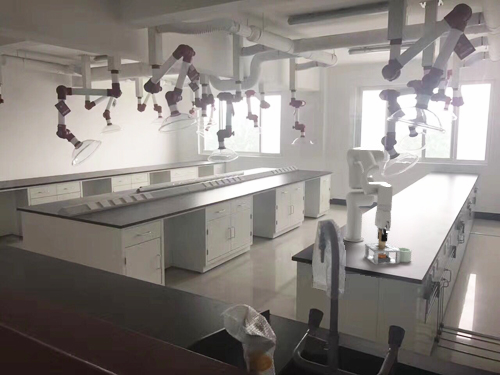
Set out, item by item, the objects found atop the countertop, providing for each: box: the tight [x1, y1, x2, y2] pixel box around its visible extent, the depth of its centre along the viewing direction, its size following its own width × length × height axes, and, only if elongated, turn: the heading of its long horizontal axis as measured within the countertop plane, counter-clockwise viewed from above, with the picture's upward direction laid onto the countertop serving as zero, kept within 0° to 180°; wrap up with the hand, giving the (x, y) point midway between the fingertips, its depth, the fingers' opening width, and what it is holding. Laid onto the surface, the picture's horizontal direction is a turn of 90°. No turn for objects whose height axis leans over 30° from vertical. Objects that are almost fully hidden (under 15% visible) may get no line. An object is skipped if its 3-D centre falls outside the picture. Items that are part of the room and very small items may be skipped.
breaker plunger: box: [378, 253, 386, 258], centre depth 219 cm, size 5×5×3 cm
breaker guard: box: [364, 242, 401, 265], centre depth 218 cm, size 14×14×7 cm
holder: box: [397, 247, 413, 263], centre depth 218 cm, size 7×7×6 cm
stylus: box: [377, 228, 387, 249], centre depth 218 cm, size 4×4×13 cm
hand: (382, 239), depth 218 cm, fingers closed on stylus, 3 cm apart
